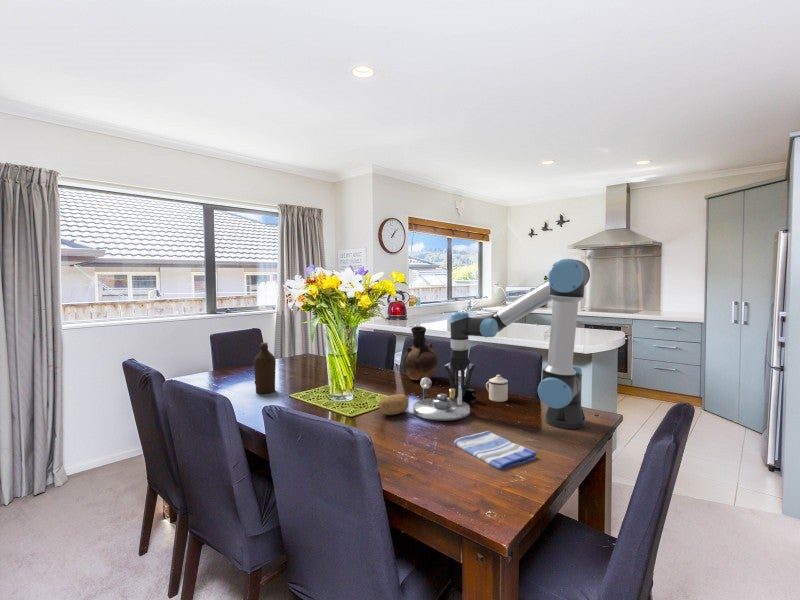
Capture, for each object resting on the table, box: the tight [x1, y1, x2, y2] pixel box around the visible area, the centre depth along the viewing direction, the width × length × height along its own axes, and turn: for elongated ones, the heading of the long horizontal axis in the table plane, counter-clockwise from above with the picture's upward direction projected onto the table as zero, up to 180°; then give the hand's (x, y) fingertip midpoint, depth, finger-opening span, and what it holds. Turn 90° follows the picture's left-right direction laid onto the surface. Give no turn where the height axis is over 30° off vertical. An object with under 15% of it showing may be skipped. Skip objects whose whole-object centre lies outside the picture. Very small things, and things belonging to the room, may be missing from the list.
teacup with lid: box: [485, 374, 509, 403], centre depth 201 cm, size 12×9×12 cm
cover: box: [432, 393, 452, 409], centre depth 179 cm, size 8×8×5 cm
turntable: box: [412, 388, 471, 422], centre depth 179 cm, size 24×24×7 cm
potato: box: [377, 393, 409, 416], centre depth 179 cm, size 10×14×8 cm
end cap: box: [455, 385, 477, 405], centre depth 195 cm, size 10×7×7 cm
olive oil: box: [253, 342, 277, 395], centre depth 214 cm, size 11×11×25 cm
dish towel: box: [453, 430, 537, 471], centre depth 142 cm, size 17×24×3 cm
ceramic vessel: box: [401, 325, 439, 381], centre depth 237 cm, size 21×18×30 cm
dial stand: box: [419, 377, 432, 400], centre depth 193 cm, size 4×5×12 cm
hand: (459, 403), depth 179 cm, fingers closed
